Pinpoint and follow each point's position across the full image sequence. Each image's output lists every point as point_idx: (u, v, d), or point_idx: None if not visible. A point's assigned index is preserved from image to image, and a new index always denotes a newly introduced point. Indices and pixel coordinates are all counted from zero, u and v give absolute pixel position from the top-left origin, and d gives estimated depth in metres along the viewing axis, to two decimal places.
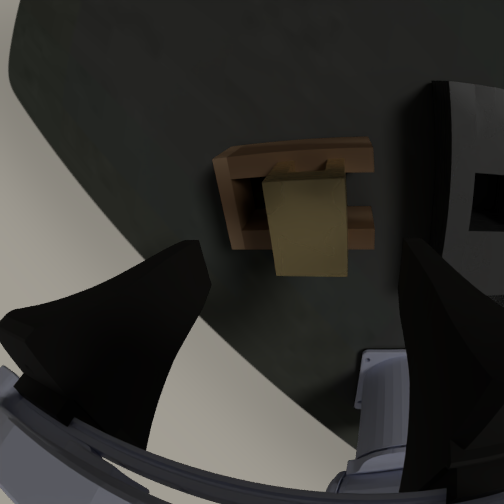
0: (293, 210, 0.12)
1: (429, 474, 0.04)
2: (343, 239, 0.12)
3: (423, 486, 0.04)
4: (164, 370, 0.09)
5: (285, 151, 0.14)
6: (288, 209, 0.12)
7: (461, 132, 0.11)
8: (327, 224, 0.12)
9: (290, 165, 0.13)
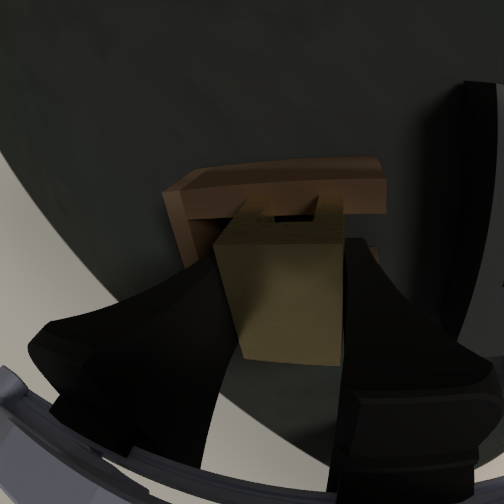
0: (262, 285, 0.08)
1: None
2: (336, 325, 0.08)
3: (327, 487, 0.04)
4: (218, 381, 0.08)
5: (258, 183, 0.10)
6: (254, 283, 0.08)
7: None
8: (313, 306, 0.08)
9: (263, 206, 0.09)
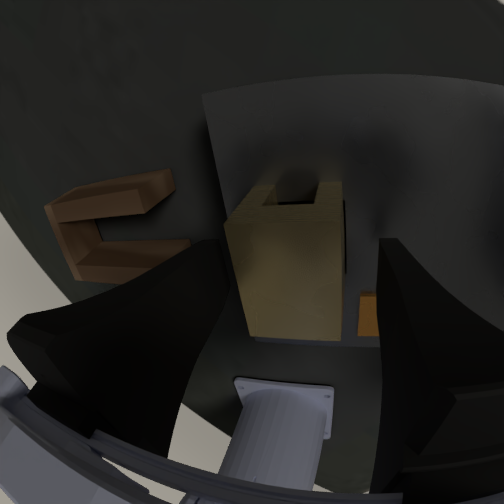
0: (268, 262, 0.09)
1: (388, 477, 0.04)
2: (336, 299, 0.09)
3: (384, 489, 0.04)
4: (185, 375, 0.09)
5: (80, 198, 0.14)
6: (261, 260, 0.09)
7: (226, 154, 0.11)
8: (315, 281, 0.09)
9: (268, 192, 0.10)
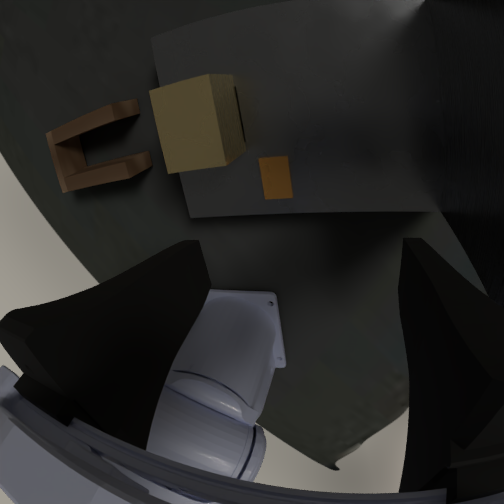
0: (173, 108, 0.13)
1: (429, 474, 0.04)
2: (215, 128, 0.13)
3: (423, 486, 0.04)
4: (164, 370, 0.09)
5: (73, 120, 0.18)
6: (169, 108, 0.13)
7: (164, 70, 0.15)
8: (200, 116, 0.13)
9: None
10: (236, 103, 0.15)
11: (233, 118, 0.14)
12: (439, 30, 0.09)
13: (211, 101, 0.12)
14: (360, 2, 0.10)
